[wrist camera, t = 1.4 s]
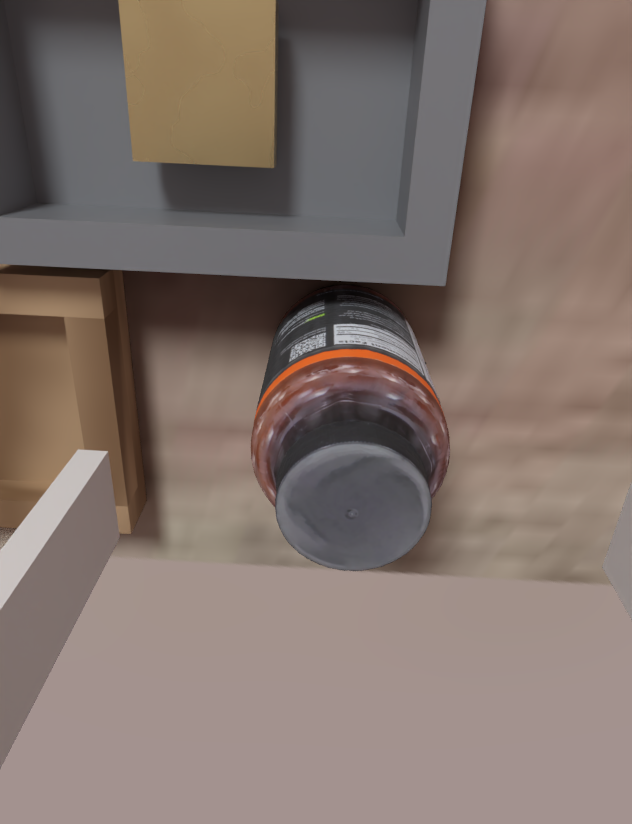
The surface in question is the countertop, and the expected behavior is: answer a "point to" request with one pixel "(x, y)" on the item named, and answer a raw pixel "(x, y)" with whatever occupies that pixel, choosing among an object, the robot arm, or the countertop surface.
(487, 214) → the countertop surface
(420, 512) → the supplement bottle
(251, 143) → the pad
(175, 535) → the countertop surface
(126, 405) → the square wooden tray
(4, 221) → the tray
